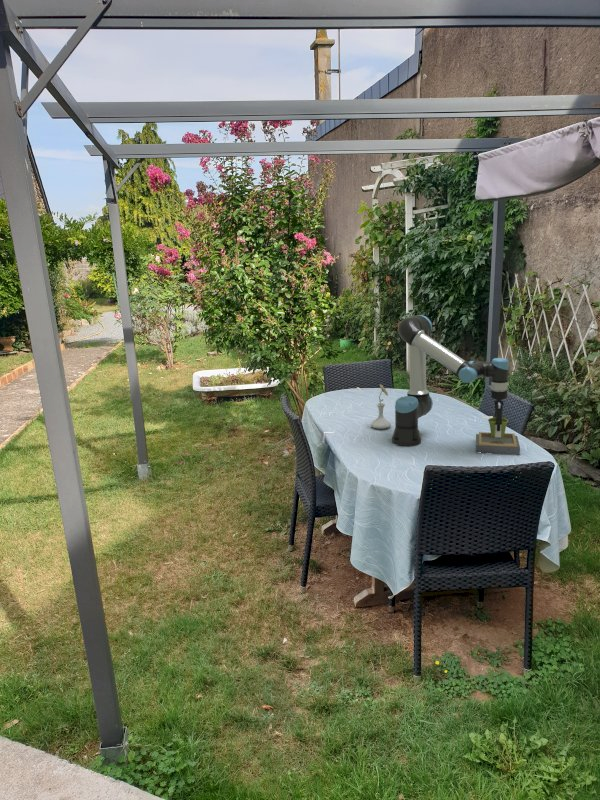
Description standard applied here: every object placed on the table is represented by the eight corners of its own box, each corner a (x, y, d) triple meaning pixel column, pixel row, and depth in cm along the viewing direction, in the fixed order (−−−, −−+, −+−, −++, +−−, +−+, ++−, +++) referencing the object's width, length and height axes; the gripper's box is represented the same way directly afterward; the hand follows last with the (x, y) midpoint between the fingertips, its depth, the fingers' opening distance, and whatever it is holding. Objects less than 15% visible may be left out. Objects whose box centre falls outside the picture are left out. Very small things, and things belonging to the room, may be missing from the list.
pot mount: (476, 452, 279) (476, 442, 278) (475, 441, 296) (476, 431, 295) (519, 455, 274) (520, 444, 272) (516, 443, 290) (517, 433, 289)
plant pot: (494, 440, 278) (495, 423, 276) (483, 435, 287) (484, 418, 284) (511, 438, 280) (512, 421, 278) (500, 432, 289) (500, 416, 287)
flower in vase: (390, 430, 320) (390, 387, 314) (370, 430, 322) (369, 387, 316) (391, 424, 332) (391, 382, 326) (372, 423, 335) (371, 382, 328)
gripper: (508, 395, 266) (506, 441, 272) (506, 385, 287) (504, 427, 292) (491, 395, 268) (490, 440, 274) (490, 384, 289) (489, 427, 294)
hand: (497, 433), depth 283 cm, fingers closed on plant pot, 9 cm apart
